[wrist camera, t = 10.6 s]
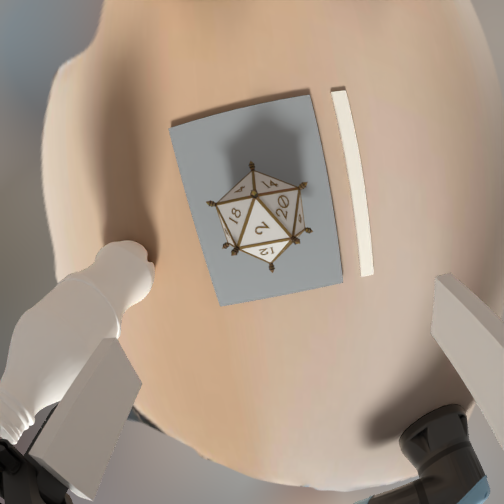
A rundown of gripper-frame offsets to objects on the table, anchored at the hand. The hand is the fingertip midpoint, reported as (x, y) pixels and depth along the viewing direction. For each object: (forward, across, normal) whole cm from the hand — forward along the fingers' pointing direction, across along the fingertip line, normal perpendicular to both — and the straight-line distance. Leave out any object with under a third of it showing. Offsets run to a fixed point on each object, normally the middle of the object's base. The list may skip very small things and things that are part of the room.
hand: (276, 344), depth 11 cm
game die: (+20, 0, -1) cm, 20 cm away
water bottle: (+21, +17, +2) cm, 27 cm away
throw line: (+21, -9, -1) cm, 23 cm away
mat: (+21, +1, -1) cm, 21 cm away
